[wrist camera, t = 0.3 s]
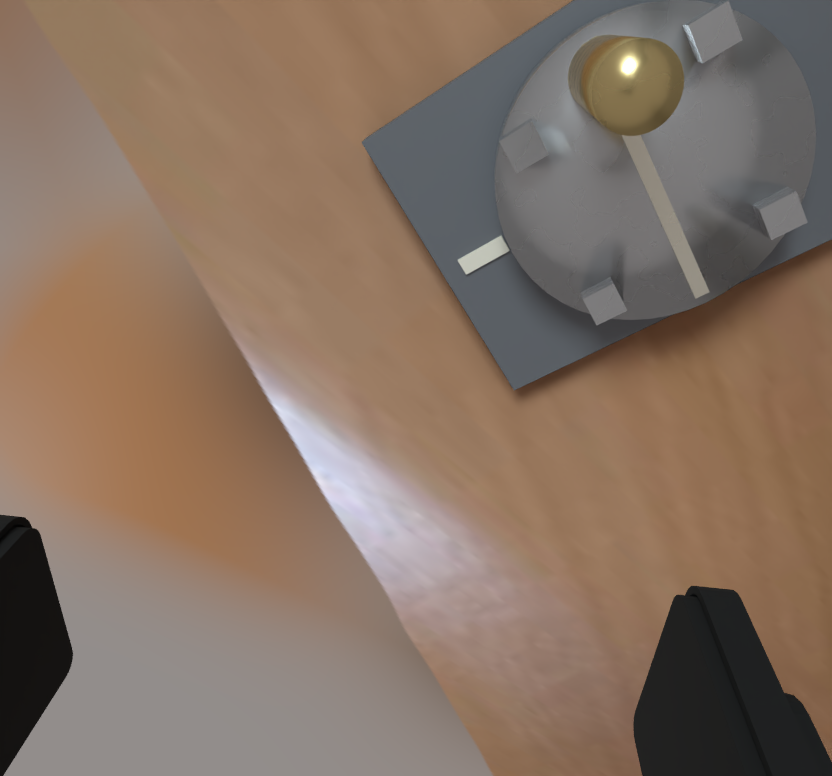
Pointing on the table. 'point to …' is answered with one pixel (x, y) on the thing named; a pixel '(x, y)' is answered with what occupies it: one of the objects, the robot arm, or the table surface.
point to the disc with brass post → (654, 159)
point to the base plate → (475, 185)
